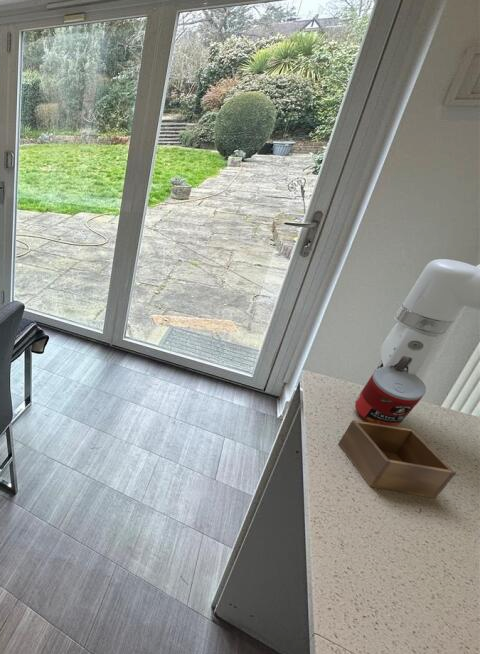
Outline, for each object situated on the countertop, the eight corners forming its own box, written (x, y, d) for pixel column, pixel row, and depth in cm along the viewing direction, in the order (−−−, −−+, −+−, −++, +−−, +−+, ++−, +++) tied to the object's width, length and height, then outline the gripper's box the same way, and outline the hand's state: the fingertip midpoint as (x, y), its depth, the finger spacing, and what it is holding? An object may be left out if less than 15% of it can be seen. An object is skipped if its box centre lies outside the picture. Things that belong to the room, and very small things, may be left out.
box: (395, 453, 80) (412, 429, 77) (435, 498, 72) (456, 473, 69) (337, 443, 82) (352, 419, 79) (369, 486, 73) (387, 461, 70)
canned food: (363, 427, 87) (386, 397, 80) (346, 395, 93) (366, 365, 86) (409, 430, 85) (436, 399, 78) (389, 397, 90) (412, 366, 84)
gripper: (457, 342, 75) (403, 415, 84) (440, 311, 86) (394, 379, 94) (402, 327, 79) (356, 399, 88) (393, 299, 90) (352, 365, 98)
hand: (376, 388), depth 91 cm, fingers closed
